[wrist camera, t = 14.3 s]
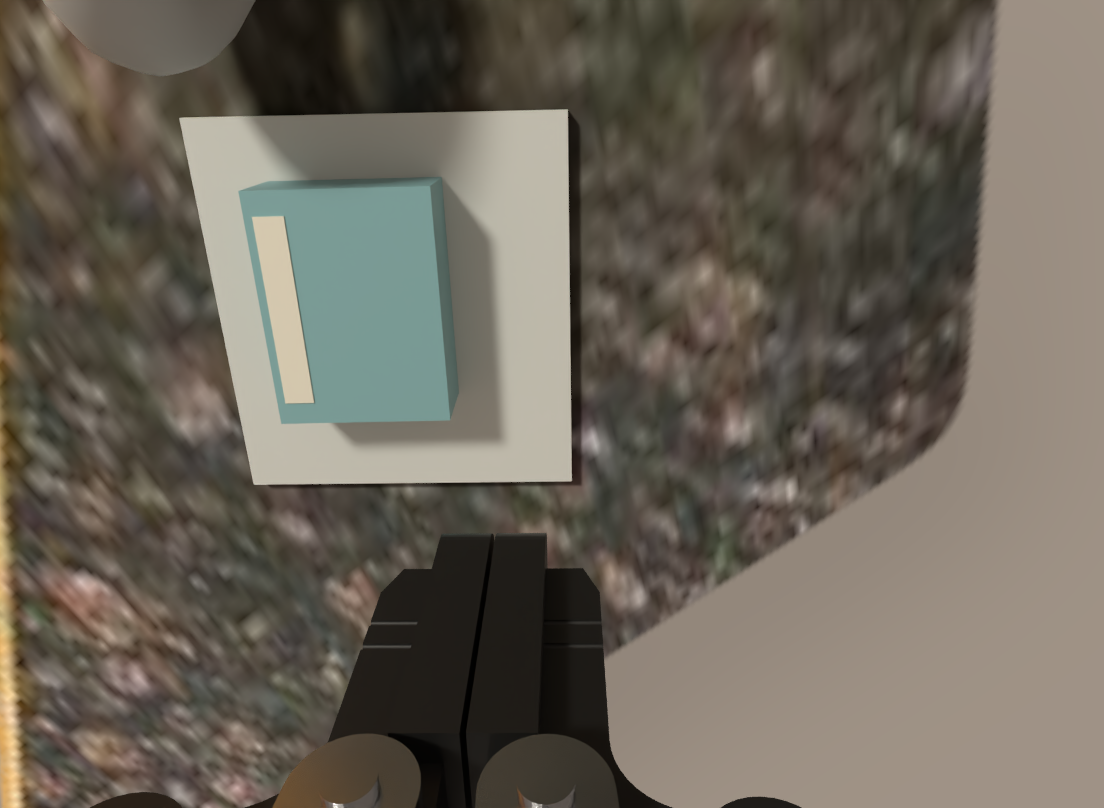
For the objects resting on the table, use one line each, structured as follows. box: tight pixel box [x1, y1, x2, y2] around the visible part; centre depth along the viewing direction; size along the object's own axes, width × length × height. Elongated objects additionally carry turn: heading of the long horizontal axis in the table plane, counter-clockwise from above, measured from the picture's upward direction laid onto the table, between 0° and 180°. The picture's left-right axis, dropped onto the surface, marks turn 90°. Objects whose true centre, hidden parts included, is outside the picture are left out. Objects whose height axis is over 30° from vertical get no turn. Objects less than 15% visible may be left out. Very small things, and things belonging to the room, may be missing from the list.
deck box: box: [238, 177, 459, 424], centre depth 26 cm, size 8×3×6 cm
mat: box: [179, 109, 572, 485], centre depth 28 cm, size 14×13×1 cm
